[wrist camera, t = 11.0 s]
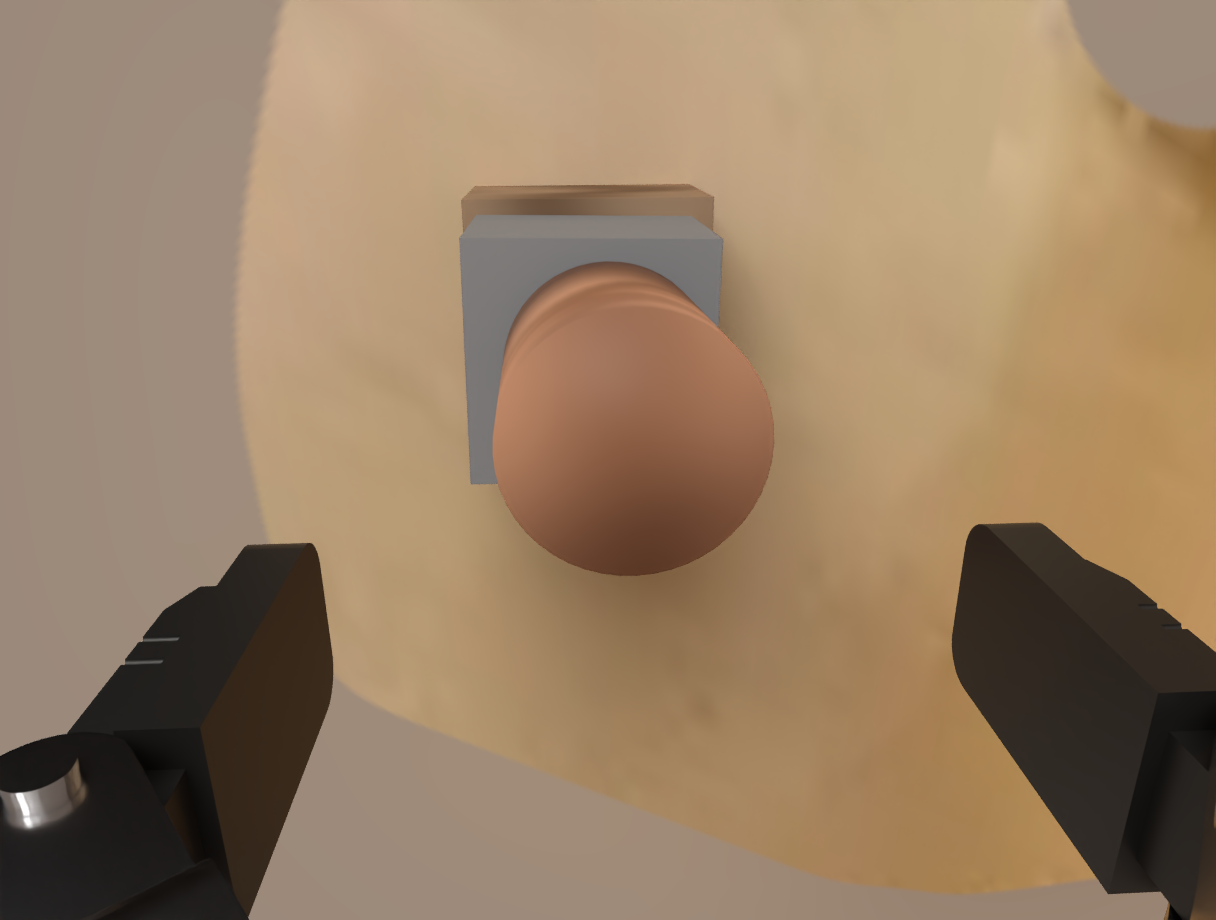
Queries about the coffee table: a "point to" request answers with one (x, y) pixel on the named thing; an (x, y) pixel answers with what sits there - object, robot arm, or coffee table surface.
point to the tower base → (590, 201)
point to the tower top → (541, 249)
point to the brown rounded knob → (627, 423)
